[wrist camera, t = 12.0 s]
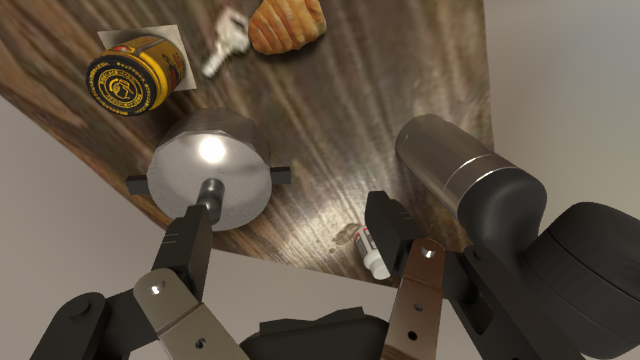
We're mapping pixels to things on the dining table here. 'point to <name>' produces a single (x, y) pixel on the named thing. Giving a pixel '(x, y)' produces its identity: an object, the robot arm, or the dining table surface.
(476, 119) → the dining table surface
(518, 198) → the robot arm
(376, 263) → the pill bottle
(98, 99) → the condiment
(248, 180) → the lid
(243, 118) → the pot
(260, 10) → the pastry
